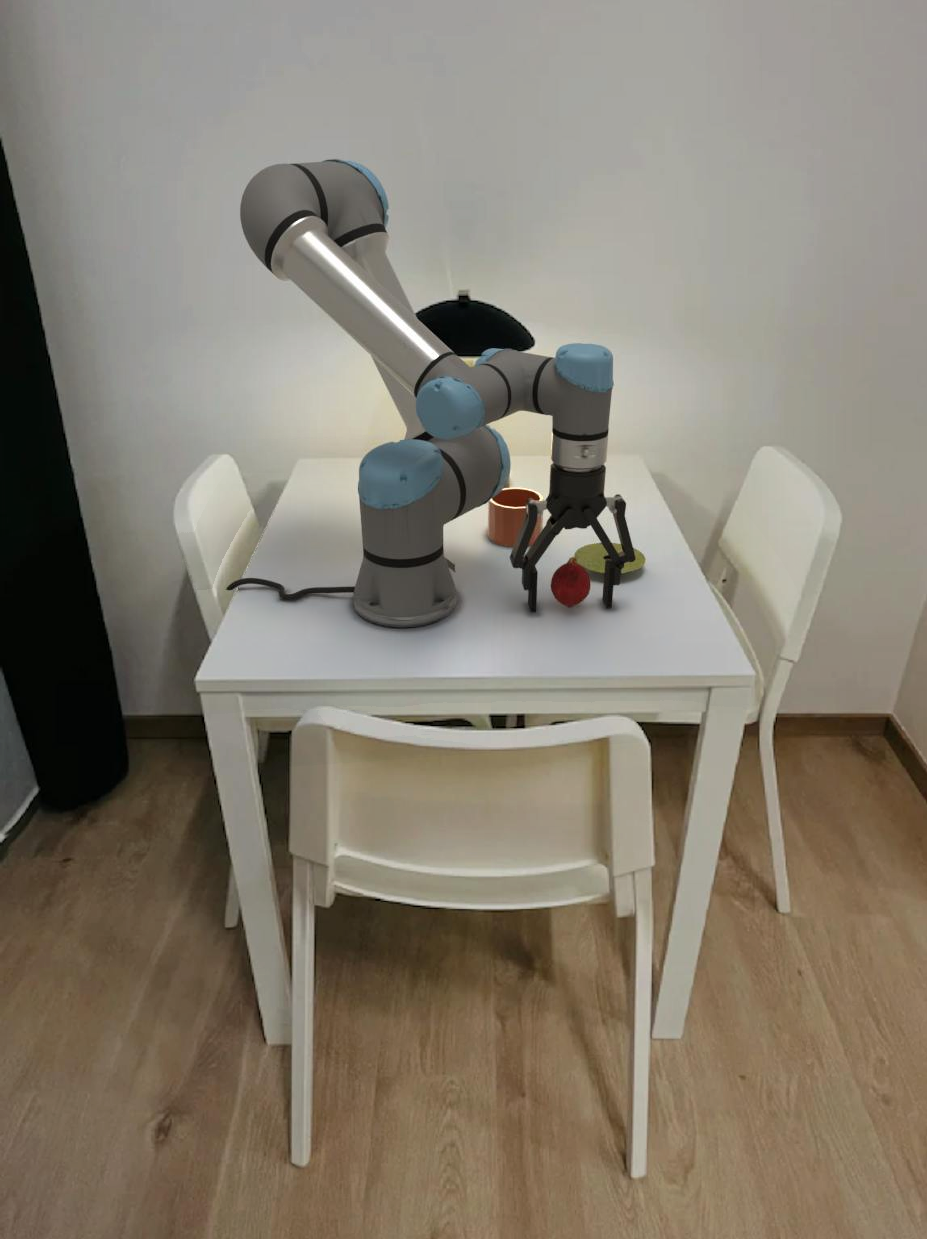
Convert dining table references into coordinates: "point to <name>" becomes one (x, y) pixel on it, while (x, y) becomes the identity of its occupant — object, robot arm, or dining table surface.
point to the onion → (570, 583)
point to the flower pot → (511, 515)
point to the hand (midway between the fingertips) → (569, 605)
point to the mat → (605, 558)
